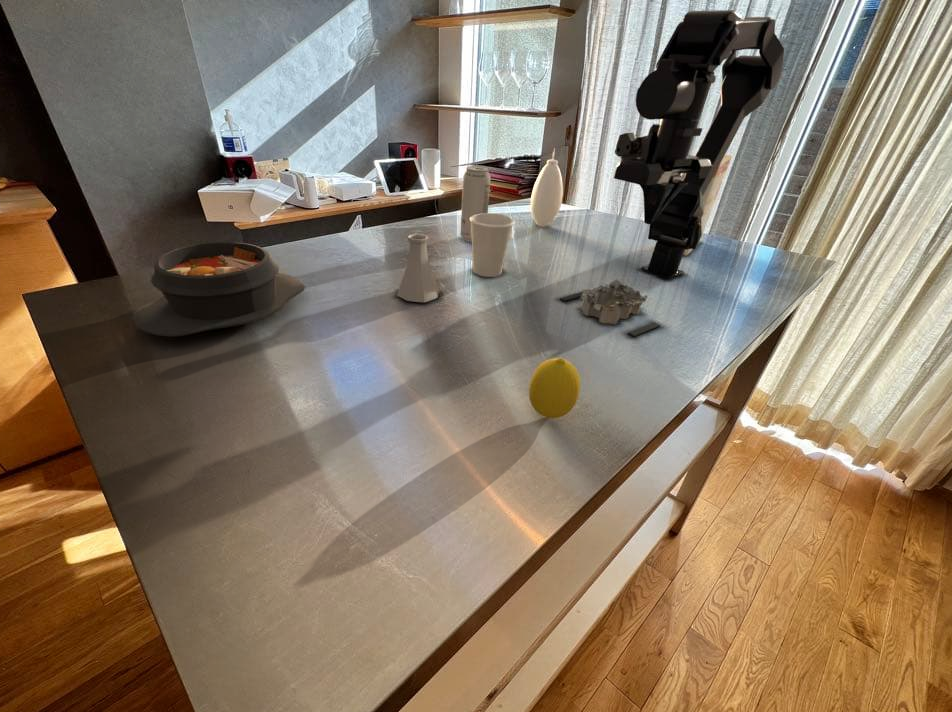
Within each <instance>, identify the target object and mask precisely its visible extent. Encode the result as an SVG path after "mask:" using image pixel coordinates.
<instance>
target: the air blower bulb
mask: <svg viewBox="0 0 952 712" xmlns="http://www.w3.org/2000/svg"><path fill="white" fill-rule="evenodd" d="M555 153H556V147H554V148H553V151H552V156H551V158H550V159H548V160H546V164H545V165H544V167H542V169H541V170H540V172H539V174H538V176H537V178H536V180H535V182H534V185H533V188H532V192H531V197H530V214H531V217H532V220H533V221H534V222H535V224H536V225H537V226H539V227H542V228H544V227H547V226H549V225H550V223H553V222H554V221H555V219H557V216H558V215H559V213H560V209H561V207H562V202H563V194H564V185H563V178H562V177H563V176H562V173H561V170H560V167H559V165H558V163H559V161H558V160H557V159H555Z"/></svg>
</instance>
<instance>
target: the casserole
mask: <svg viewBox="0 0 952 712" xmlns="http://www.w3.org/2000/svg"><path fill="white" fill-rule="evenodd" d="M278 264H279V263H277V262H276V261H275V260H274V259H273V258H272V257H271V255H270V253H269V252H268V251H267V250H266V249H265V248H263V247H261V246H258V245H255V244H250V243H246V242H245V243H244V242H232V241H231V242H230V241H229V242H227V241H225V242H223V241H222V242H221V241H220V242H209V243H208V242H206V243H199V244H193V245H188V246H184V247H180V248H176V249H174V250H171V251H169V252H166V253H165V254H162V255H160V256H159V257H158V258H157V259H156V260H155V261H154V266H153V267H154V268H153V269H154V271H153V272H154V273H153V274H152V275H151V277H150V278H151V279H150V283H151V284H152V286H153V287H154V288H155V289H157V290H158V291H160V292H161V294H162V295H163V296H161V297H159V298H158V299H156V300H153V301H152V302H149V303H147V304H144V305H142V306H141V307H139V308H138V309H135V311H134V312H133V313H132V317H131V320H132V321H131V322H132V324H133V325H134V326H135V327H137V328H138V329H139V330H141V331H143V332H145V333H147V334H152V335H156V336H163V337H172V338H174V337H184V336H190V335H194V334H199V333H202V332H205V331H210V330H219V329H225V328H232V327H239V326H243V325H247V324H251V323H255V322H257V321H261V320H263V319H266V318H268V317H270V316H272V315H274V314H275V313H277V312H278V311H280V310H282V309H283V308H284V307H285V306H286V305H287V304H288V303H289V302H290V301H291V300H292V299H293V298H295V297H296V296H298V295H300V294H301V293H303V292H304V291H305V288H306V286H305V284H304V282H303V281H302V280H300V279H298V278H296V277H294V276H293V275H289V274H286V273H283V272H280V266H279V265H278Z"/></svg>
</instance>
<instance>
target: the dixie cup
mask: <svg viewBox="0 0 952 712" xmlns="http://www.w3.org/2000/svg"><path fill="white" fill-rule="evenodd" d="M470 221H471V233H472V242H471V251H472V271H473V273H474V274H475V275H478V276H479V277H486V278H494V277H499V276H500V275H501V274H502V272H503V269H504V264H505V260H506V255H507V251H508V247H509V244H510V238H511V234H512V230H513V228H514V227H513V226H514V225H515V220H514V218H512V217H510V216H508V215H506V214H505V215H504V214H500V213H489V212H488V213H482V214H476V215H473V216H472V217H470Z"/></svg>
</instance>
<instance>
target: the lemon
mask: <svg viewBox="0 0 952 712" xmlns="http://www.w3.org/2000/svg"><path fill="white" fill-rule="evenodd" d="M580 392H581V377H580V374H579V372H578V370H577V368H576V366H575V365H573V364H572V362H570V361H568V360H566V359H564V358H562V357H556V358H555V357H554V358H549V359H546V360H544V361H543V362H542V363H540V364H539V365H538V366H537V367H536V369H535V371H534V372H533V374H532V376H531V379H530V383H529V387H528V396H529V402H530V404H531V407H532V408H533V409H534V411H535V412H536V413H538V414H539V415H540V416H542V417H545V418H546V419H559V418H561V417H564V416H566V415H567V414H569V413H570V412H571V411H572V410H573V408H574V407H575V406H576V404H577V402H578V400H579V397H580Z"/></svg>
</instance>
